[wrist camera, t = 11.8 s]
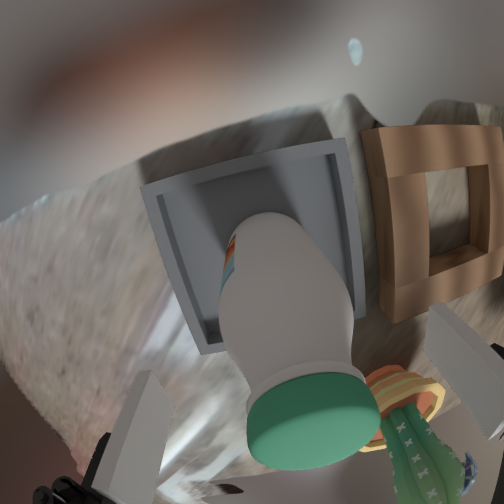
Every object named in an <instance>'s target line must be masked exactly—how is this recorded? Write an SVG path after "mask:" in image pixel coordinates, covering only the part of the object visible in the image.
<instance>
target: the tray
mask: <svg viewBox="0 0 504 504" xmlns="http://www.w3.org/2000/svg"><path fill="white" fill-rule="evenodd" d="M140 189H141V193H142V196H143V200H144V203H145V206H146V210H147V213H148V216H149V220H150V223H151V226H152V229H153V232H154V235H155V238H156V242H157V245H158V247H159V250H160V253H161V256H162V259H163V262H164V265H165V268H166V270H167V273H168V276H169V279H170V281H171V284H172V287H173V289H174V292H175V294H176V297H177V300H178V302H179V305H180V307H181V310H182V312H183V315H184V317H185V320H186V322H187V324H188V327H189V329H190V331H191V334H192V336H193V338H194V341H195V343H196V345H197V348H198V350H199V352H200V354H201V355H205V354H211V353H217V352H223V351H227V349H226V347H225V344H224V342H223V338H222V335H221V331H220V325H219V299H220V289H221V282H222V275H223V269H224V263H225V257H226V252H227V247H228V243H229V240H230V237H231V235H232V233H233V232H234V230H235V229H236V228H237V226H238V225H239V224H240V223H241V222H243V221H244V220H245V219H247V218H249V217H251V216H253V215H255V214H259V213H263V212H276V213H281V214H284V215H286V216H289V217H290V218H292V219H293V220H295V221H296V222H297V223H298V224H299V225H300V226H301V227H302V228H303V229H304V230H305V231H306V232H307V233H308V235H309V236H310V237H311V238H312V239H313V240H314V242H315V243H316V244H317V245H318V246H319V248H320V249H321V250H322V251H323V253H324V254H325V255H326V256H327V258H328V259H329V260H330V261H331V263H332V264H333V266H334V267H335V269H336V270H337V272H338V273H339V275H340V276H341V278H342V279H343V281H344V283H345V286H346V288H347V290H348V293H349V296H350V299H351V303H352V308H353V318H354V320H357V319H360V318H363V317H366V296H365V277H364V263H363V251H362V241H361V232H360V223H359V216H358V208H357V201H356V195H355V188H354V182H353V176H352V171H351V165H350V160H349V155H348V150H347V145H346V141H345V138H338V139H331V140H325V141H318V142H312V143H306V144H301V145H295V146H290V147H285V148H280V149H275V150H270V151H266V152H261V153H257V154H252V155H248V156H244V157H239V158H235V159H231V160H227V161H223V162H220V163H216V164H212V165H208V166H205V167H201V168H198V169H194V170H191V171H187V172H184V173H181V174H178V175H174V176H171V177H168V178H165V179H162V180H159V181H156V182H153V183H150V184H147V185H144V186H141V187H140Z"/></svg>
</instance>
